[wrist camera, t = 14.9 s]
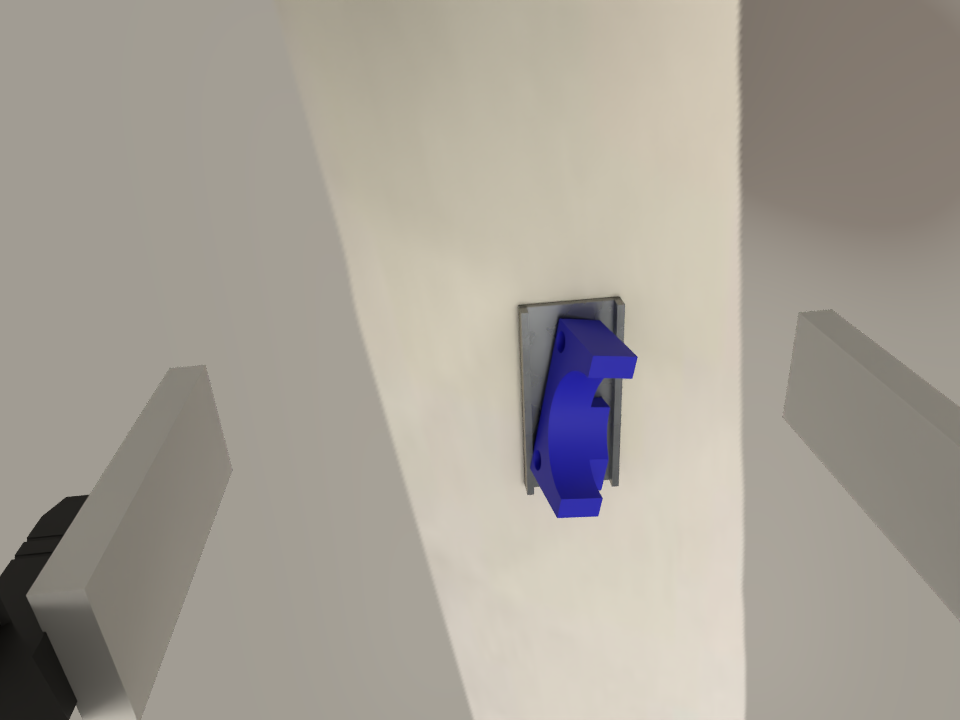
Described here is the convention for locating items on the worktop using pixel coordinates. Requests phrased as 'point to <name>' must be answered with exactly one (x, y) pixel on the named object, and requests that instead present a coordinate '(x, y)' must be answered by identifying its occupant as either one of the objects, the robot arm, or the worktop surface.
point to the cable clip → (577, 416)
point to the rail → (535, 364)
